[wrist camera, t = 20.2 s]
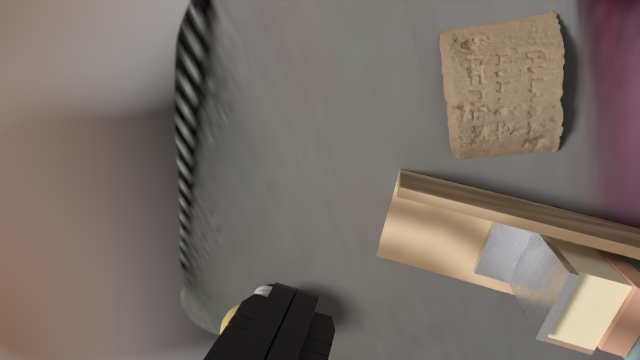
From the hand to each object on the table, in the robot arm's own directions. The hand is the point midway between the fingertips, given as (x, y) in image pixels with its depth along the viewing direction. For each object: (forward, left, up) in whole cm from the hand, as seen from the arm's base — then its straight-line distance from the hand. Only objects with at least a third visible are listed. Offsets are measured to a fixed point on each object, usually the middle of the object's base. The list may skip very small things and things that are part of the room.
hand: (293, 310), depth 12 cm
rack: (+8, +16, -29) cm, 34 cm away
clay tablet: (-7, +11, -30) cm, 32 cm away
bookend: (+8, +17, -28) cm, 34 cm away
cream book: (+9, +21, -28) cm, 36 cm away
